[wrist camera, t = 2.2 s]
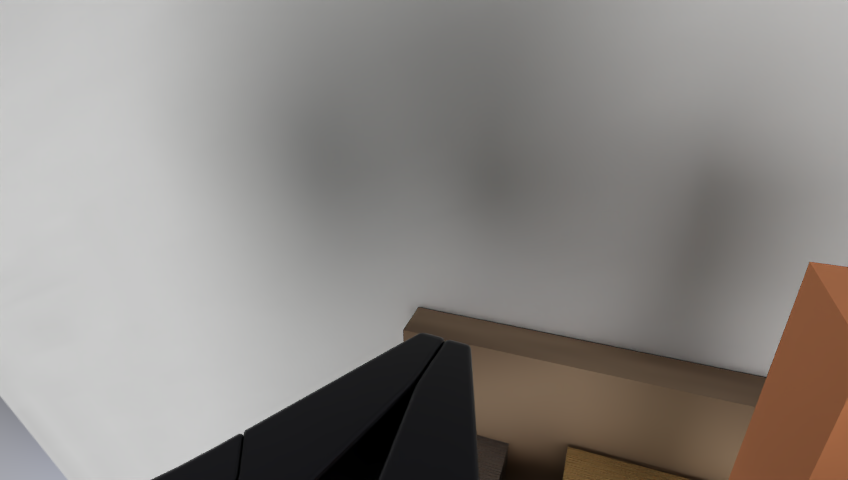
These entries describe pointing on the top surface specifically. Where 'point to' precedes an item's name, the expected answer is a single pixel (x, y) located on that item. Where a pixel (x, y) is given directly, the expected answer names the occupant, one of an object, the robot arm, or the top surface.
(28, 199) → the top surface
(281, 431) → the robot arm
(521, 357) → the valve base
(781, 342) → the lever
